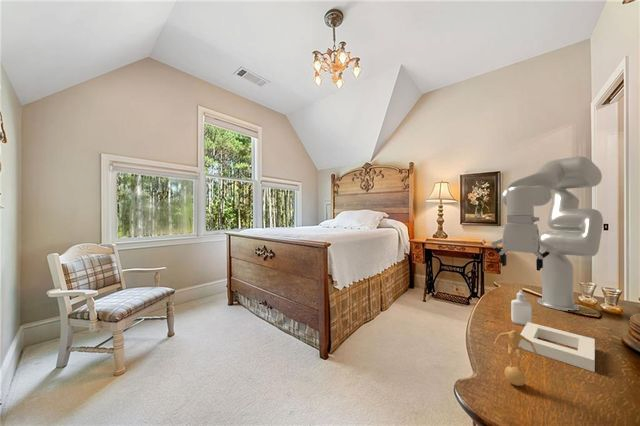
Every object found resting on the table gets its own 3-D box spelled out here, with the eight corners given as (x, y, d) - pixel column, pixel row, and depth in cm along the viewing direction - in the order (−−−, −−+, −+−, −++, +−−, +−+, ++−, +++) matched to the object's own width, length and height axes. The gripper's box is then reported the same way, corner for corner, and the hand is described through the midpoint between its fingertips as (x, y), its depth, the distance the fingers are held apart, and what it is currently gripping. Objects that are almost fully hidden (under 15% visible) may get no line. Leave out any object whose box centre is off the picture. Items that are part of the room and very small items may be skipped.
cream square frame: (527, 330, 82) (527, 321, 82) (594, 349, 70) (594, 338, 70) (518, 347, 72) (518, 337, 72) (594, 372, 61) (594, 360, 61)
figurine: (492, 380, 58) (492, 331, 58) (495, 368, 63) (494, 322, 63) (539, 397, 53) (538, 342, 53) (538, 382, 57) (537, 331, 57)
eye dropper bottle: (529, 327, 84) (529, 293, 84) (509, 322, 88) (509, 289, 88) (533, 324, 86) (532, 290, 86) (514, 318, 91) (513, 287, 91)
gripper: (554, 220, 83) (555, 270, 83) (494, 219, 96) (494, 262, 96) (551, 221, 78) (552, 274, 78) (488, 220, 91) (489, 265, 91)
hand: (520, 267), depth 87 cm, fingers open, 9 cm apart
